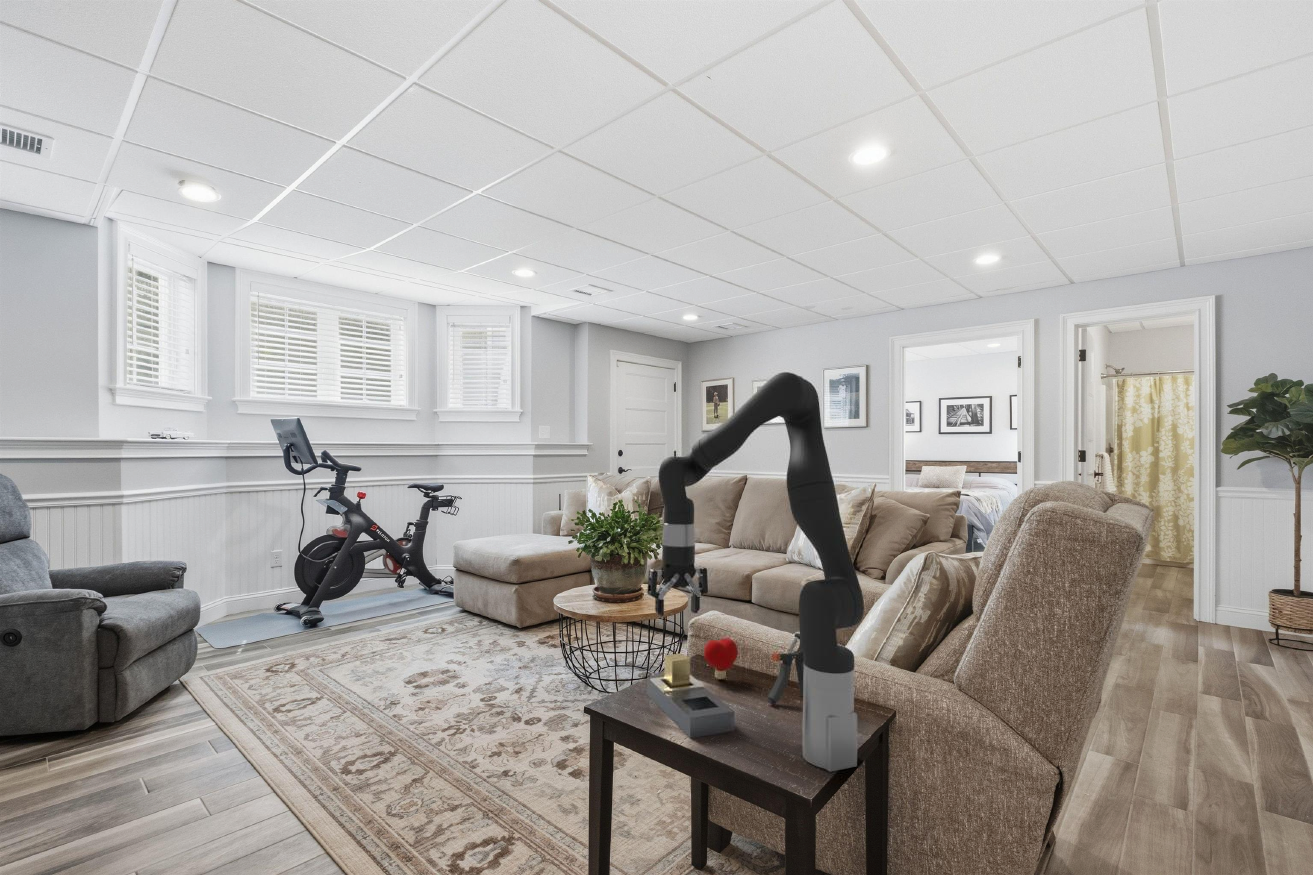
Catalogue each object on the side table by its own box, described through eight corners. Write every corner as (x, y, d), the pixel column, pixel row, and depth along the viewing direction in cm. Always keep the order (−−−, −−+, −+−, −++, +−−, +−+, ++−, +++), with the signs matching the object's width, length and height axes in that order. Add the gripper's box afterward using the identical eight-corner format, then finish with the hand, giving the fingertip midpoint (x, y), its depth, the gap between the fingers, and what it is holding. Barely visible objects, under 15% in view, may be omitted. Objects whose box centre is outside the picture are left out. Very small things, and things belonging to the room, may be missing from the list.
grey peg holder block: (734, 730, 126) (734, 709, 126) (690, 738, 123) (690, 716, 123) (685, 689, 149) (685, 671, 149) (646, 694, 145) (647, 675, 145)
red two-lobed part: (712, 687, 150) (713, 646, 150) (697, 678, 156) (698, 638, 157) (743, 681, 155) (744, 641, 155) (727, 672, 161) (728, 633, 161)
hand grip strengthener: (765, 704, 141) (766, 637, 141) (804, 693, 147) (805, 630, 148) (772, 707, 139) (773, 640, 139) (811, 697, 145) (812, 632, 146)
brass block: (689, 703, 140) (690, 659, 140) (671, 706, 138) (672, 661, 139) (681, 696, 144) (682, 653, 144) (663, 698, 142) (664, 655, 143)
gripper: (656, 546, 136) (655, 620, 135) (713, 543, 142) (712, 615, 141) (644, 542, 143) (642, 612, 142) (699, 540, 148) (698, 608, 148)
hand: (677, 613), depth 142 cm, fingers open, 8 cm apart
